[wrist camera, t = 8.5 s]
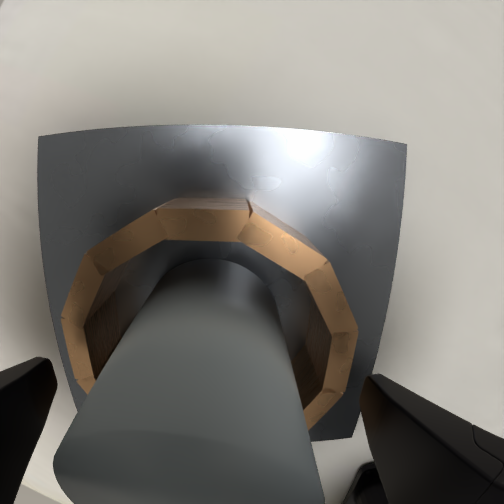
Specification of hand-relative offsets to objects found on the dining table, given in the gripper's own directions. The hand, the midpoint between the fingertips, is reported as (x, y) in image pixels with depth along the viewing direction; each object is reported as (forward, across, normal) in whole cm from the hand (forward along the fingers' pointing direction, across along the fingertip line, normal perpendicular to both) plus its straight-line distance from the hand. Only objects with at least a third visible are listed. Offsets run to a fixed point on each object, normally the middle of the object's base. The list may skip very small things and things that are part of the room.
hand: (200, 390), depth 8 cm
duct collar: (+5, 0, 0) cm, 5 cm away
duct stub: (+4, 0, 0) cm, 4 cm away
